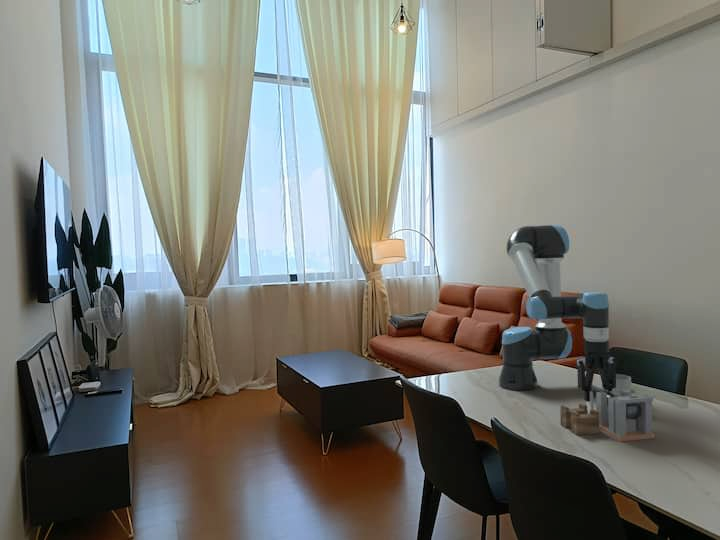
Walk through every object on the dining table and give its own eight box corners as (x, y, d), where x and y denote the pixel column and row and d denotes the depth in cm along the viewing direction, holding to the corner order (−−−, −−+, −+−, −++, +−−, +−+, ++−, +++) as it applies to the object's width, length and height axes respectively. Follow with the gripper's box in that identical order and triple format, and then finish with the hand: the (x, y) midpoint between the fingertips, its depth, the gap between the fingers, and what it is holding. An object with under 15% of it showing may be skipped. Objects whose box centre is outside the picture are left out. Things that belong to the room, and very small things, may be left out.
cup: (635, 404, 175) (634, 379, 175) (605, 404, 176) (605, 379, 176) (626, 398, 183) (625, 374, 182) (597, 398, 184) (597, 374, 183)
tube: (583, 398, 167) (583, 384, 167) (596, 397, 168) (596, 383, 168) (626, 420, 145) (626, 404, 145) (641, 419, 146) (641, 403, 146)
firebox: (582, 419, 163) (581, 382, 162) (613, 416, 164) (613, 380, 164) (619, 441, 144) (619, 400, 144) (654, 438, 145) (654, 397, 145)
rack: (560, 424, 159) (560, 404, 158) (582, 422, 160) (582, 403, 159) (576, 435, 150) (576, 414, 150) (599, 433, 151) (599, 412, 150)
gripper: (577, 343, 158) (578, 416, 159) (628, 340, 160) (629, 411, 161) (564, 339, 165) (565, 408, 166) (613, 336, 168) (614, 404, 169)
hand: (597, 410), depth 164 cm, fingers closed on tube, 4 cm apart
